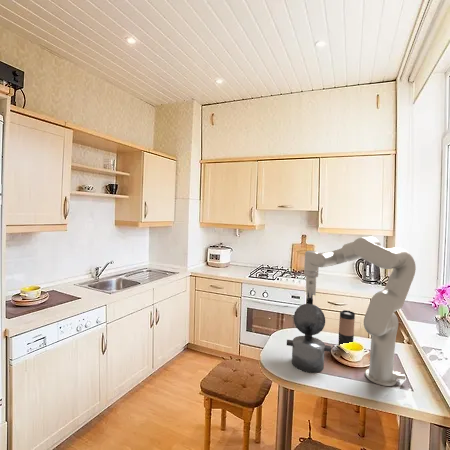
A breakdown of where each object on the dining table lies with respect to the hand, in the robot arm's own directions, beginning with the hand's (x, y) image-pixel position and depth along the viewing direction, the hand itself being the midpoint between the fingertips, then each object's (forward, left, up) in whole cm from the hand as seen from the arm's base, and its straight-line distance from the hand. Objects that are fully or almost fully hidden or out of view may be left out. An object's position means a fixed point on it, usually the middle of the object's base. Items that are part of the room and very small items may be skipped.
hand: (309, 306), depth 165 cm
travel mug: (-20, -3, -22) cm, 30 cm away
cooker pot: (0, +22, -22) cm, 31 cm away
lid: (0, +13, -3) cm, 13 cm away
